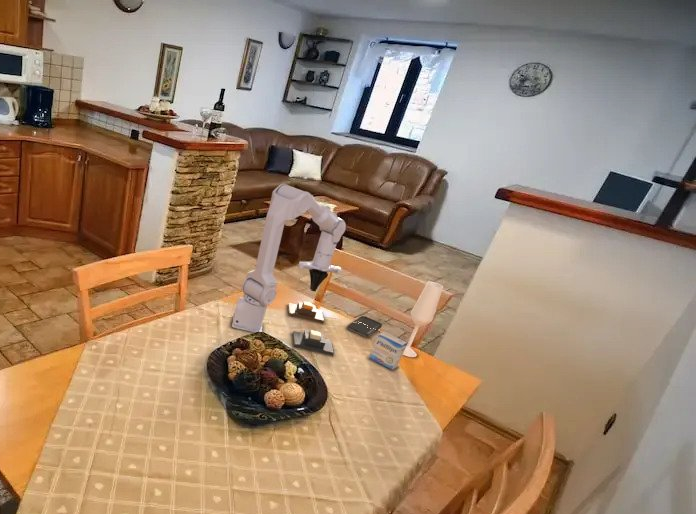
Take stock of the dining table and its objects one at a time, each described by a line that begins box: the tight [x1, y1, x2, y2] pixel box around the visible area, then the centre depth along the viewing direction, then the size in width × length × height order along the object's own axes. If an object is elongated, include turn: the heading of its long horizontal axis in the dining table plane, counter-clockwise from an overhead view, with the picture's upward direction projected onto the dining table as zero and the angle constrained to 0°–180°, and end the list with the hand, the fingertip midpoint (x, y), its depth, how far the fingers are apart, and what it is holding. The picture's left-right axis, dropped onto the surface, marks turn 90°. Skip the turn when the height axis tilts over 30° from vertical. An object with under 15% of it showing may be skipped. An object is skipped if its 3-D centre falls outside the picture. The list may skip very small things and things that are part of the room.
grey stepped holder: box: [292, 329, 335, 357], centre depth 155 cm, size 12×9×3 cm
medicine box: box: [368, 331, 408, 371], centre depth 152 cm, size 8×4×9 cm, turn 47°
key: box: [309, 329, 322, 340], centre depth 154 cm, size 3×3×2 cm
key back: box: [302, 300, 314, 310], centre depth 174 cm, size 3×3×2 cm
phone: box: [346, 315, 383, 338], centre depth 175 cm, size 8×1×15 cm
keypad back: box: [287, 301, 325, 324], centre depth 175 cm, size 12×9×3 cm
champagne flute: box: [402, 280, 444, 358], centre depth 158 cm, size 7×7×24 cm
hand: (312, 290), depth 172 cm, fingers closed
